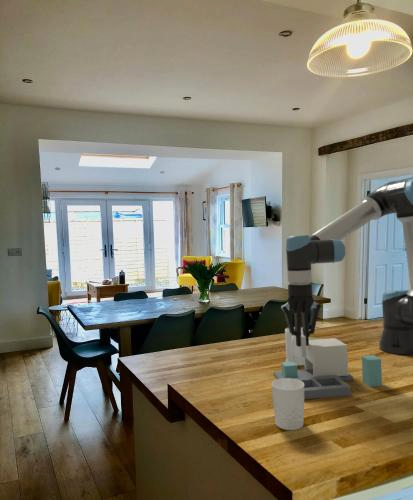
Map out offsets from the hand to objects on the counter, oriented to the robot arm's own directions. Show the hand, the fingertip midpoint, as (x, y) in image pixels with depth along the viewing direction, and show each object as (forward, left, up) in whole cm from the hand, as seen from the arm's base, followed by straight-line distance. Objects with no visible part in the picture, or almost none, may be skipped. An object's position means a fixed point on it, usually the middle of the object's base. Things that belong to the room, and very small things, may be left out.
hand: (302, 355), depth 126 cm
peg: (-18, +9, -7) cm, 22 cm away
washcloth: (-12, -35, -8) cm, 38 cm away
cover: (-7, 0, -6) cm, 9 cm away
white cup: (+14, +30, -8) cm, 33 cm away
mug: (-2, -15, -7) cm, 17 cm away
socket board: (0, +11, -7) cm, 13 cm away
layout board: (-3, 0, -7) cm, 8 cm away
